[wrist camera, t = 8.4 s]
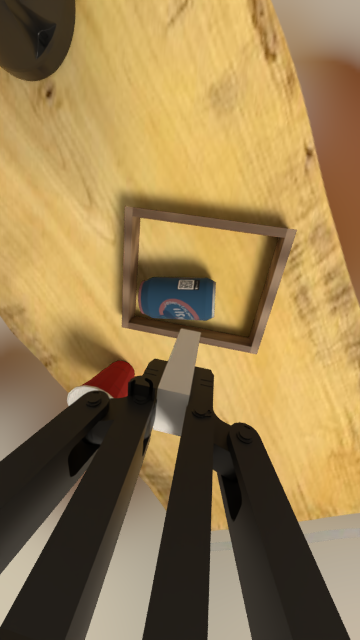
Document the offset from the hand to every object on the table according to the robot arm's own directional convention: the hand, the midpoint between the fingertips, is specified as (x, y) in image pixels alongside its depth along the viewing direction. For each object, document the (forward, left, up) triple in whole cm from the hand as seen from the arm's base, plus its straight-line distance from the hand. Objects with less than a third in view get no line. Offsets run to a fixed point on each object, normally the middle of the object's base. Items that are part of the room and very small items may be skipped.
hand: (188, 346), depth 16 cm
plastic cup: (+23, -15, -24) cm, 36 cm away
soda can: (+2, +2, -20) cm, 20 cm away
